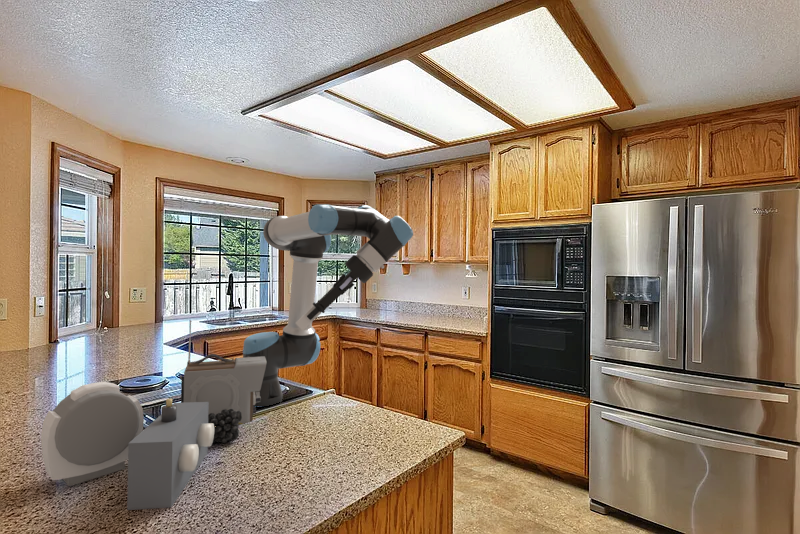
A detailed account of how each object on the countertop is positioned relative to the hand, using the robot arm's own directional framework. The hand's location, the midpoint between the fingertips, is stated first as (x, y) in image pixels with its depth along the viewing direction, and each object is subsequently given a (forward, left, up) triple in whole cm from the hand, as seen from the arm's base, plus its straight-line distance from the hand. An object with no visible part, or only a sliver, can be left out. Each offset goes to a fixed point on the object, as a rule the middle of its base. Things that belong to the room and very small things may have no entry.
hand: (299, 326), depth 110 cm
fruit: (-8, -23, -32) cm, 40 cm away
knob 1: (+18, -23, -28) cm, 40 cm away
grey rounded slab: (+8, -44, -32) cm, 55 cm away
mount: (+12, -26, -32) cm, 43 cm away
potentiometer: (+12, -27, -19) cm, 35 cm away
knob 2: (+6, -23, -28) cm, 37 cm away
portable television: (-24, -24, -32) cm, 47 cm away
